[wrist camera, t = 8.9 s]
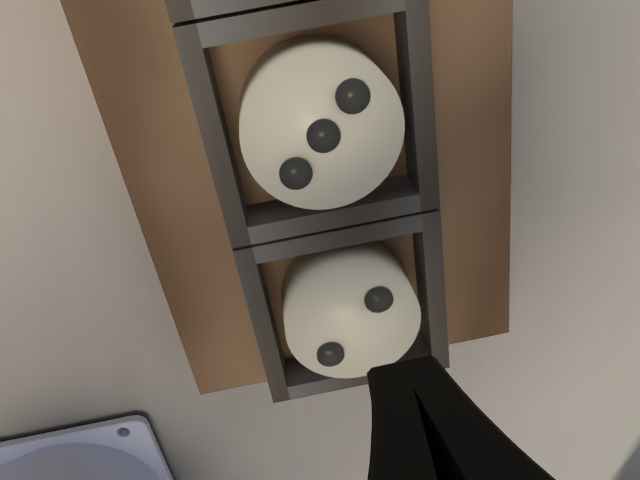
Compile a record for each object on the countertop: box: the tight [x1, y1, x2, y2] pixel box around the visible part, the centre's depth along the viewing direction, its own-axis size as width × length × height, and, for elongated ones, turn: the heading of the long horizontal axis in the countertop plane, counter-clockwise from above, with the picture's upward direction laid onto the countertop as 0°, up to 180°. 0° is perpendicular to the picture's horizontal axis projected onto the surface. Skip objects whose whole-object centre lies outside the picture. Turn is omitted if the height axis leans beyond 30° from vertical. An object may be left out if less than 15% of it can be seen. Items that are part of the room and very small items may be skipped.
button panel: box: [60, 0, 513, 403], centre depth 18 cm, size 12×20×4 cm, turn 9°
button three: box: [239, 34, 405, 210], centre depth 16 cm, size 4×4×2 cm
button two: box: [281, 241, 421, 378], centre depth 20 cm, size 4×4×2 cm
